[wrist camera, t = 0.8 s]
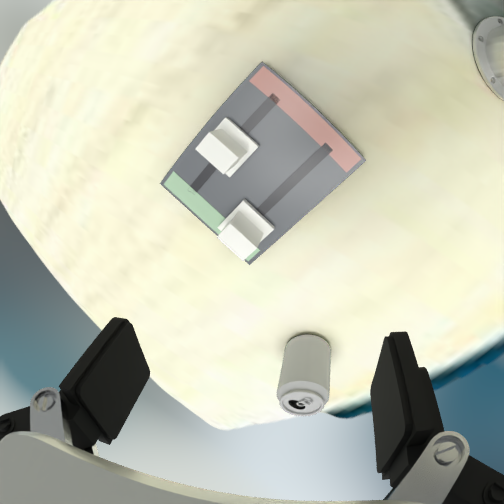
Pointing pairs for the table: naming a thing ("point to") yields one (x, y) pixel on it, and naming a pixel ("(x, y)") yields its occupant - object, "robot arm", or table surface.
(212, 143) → the breaker
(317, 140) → the slider switch panel
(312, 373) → the can
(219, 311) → the table surface
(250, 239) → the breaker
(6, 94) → the table surface
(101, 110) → the table surface
